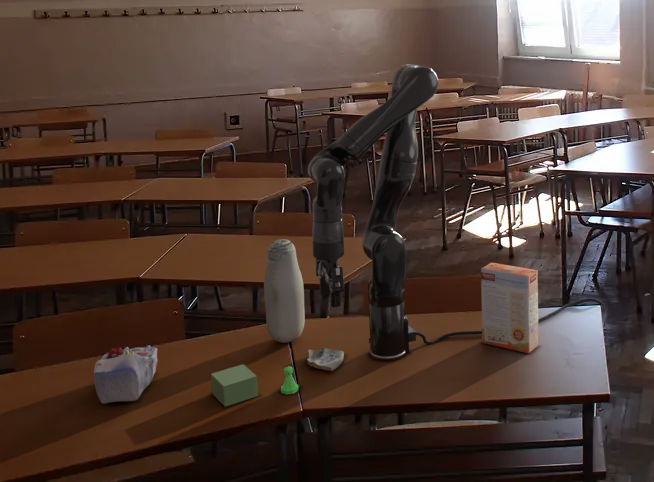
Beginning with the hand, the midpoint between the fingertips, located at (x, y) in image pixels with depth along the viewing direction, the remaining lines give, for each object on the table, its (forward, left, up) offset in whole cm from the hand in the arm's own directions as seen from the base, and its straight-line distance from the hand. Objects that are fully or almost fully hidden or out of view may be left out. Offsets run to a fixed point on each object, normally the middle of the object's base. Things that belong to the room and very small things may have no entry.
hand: (330, 300), depth 204 cm
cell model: (+47, -14, -18) cm, 52 cm away
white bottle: (+6, -22, -18) cm, 29 cm away
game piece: (+13, +6, -18) cm, 23 cm away
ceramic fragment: (+2, -4, -18) cm, 18 cm away
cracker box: (-45, +10, -18) cm, 50 cm away
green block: (+25, +2, -18) cm, 30 cm away
